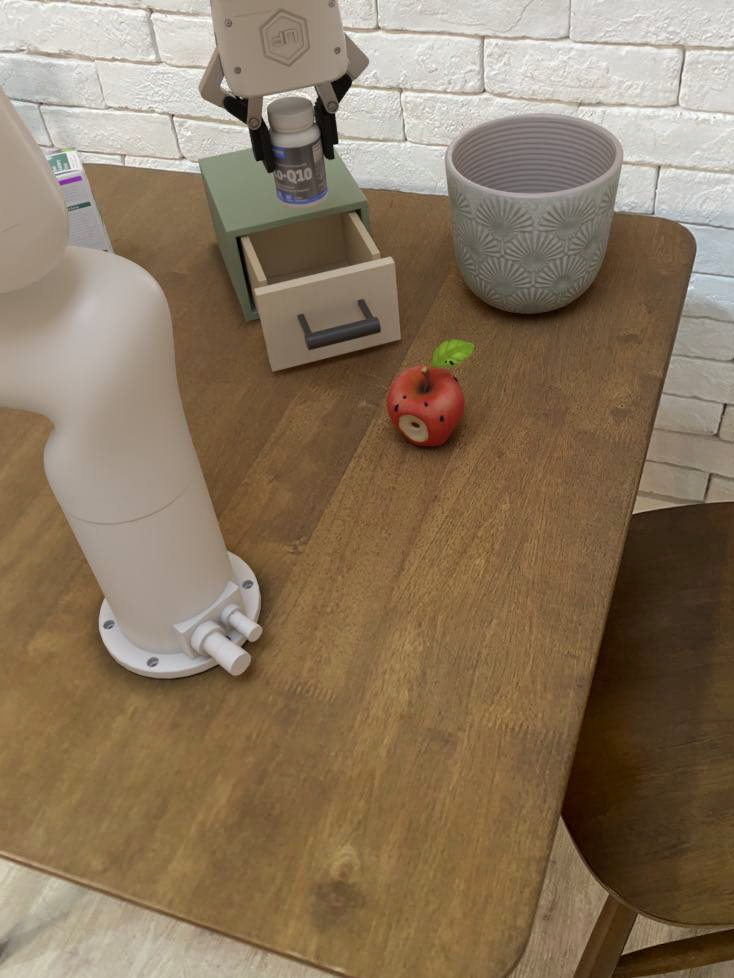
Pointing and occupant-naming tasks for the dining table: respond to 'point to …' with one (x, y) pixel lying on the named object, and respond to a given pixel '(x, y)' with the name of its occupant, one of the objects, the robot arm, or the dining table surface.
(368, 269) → the drawer
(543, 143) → the planter
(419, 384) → the apple
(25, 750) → the dining table surface
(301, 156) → the pill bottle
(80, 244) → the syrup box
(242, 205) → the cabinet
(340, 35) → the robot arm
